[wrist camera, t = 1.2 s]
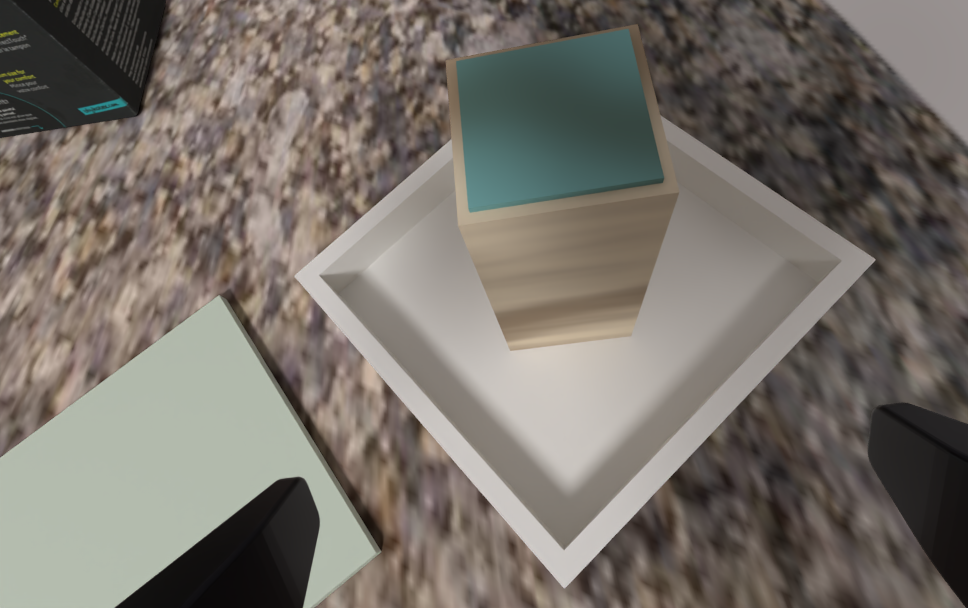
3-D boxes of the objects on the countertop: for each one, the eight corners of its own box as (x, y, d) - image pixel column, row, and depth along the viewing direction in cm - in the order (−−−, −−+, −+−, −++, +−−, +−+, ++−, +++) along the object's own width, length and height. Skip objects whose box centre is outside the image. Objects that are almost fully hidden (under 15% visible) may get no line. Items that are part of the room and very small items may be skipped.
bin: (844, 285, 22) (875, 259, 20) (565, 578, 20) (564, 588, 18) (559, 85, 28) (558, 46, 25) (319, 296, 25) (294, 276, 23)
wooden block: (631, 336, 22) (681, 187, 12) (510, 350, 23) (456, 221, 12) (610, 228, 24) (638, 17, 14) (498, 245, 25) (444, 54, 14)
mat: (381, 551, 21) (376, 553, 21) (75, 805, 20) (60, 814, 19) (226, 299, 26) (219, 295, 26) (-26, 487, 25) (-40, 486, 24)
